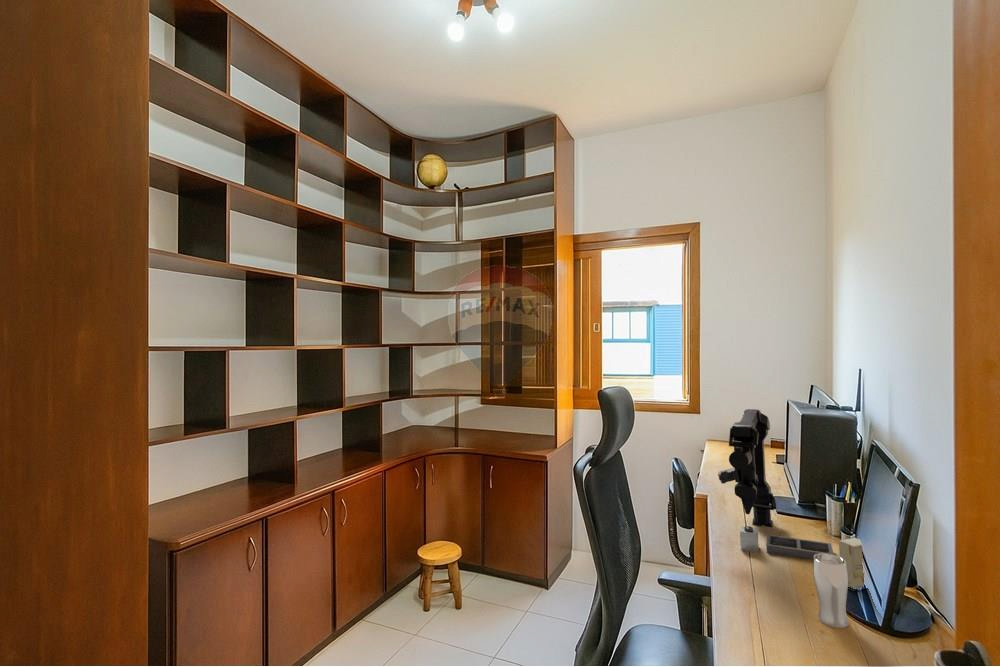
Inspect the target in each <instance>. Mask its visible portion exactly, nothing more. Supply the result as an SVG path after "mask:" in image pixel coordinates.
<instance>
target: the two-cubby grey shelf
mask: <svg viewBox="0 0 1000 667" xmlns="http://www.w3.org/2000/svg"><path fill="white" fill-rule="evenodd" d="M765 543H766V554H772V555H779V556H785V557H791V558H797V559H802V560H810V561H814V555H815V554H820V553H824V554H831V555H834V550H833V546H832V543H830V542H822V541H816V540H809V539H808V540H807V539H801V538H796V537H789V536H781V535H774V534H767V533H766V542H765Z"/></svg>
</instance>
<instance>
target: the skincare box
mask: <svg viewBox="0 0 1000 667" xmlns="http://www.w3.org/2000/svg"><path fill="white" fill-rule="evenodd" d="M860 540H861V539H860V538H857V537H852V538H846V539H840V540H838V549H839V550H838V551H839V552H838V553H839V556H838V557H841V558H842V559H844V560H845V561H846V568H847V574H848V587H851V588H853V589H859V588H861V587H864V573H863V565H862V562H863V560H862V559H863V554H862V543H861V541H860Z"/></svg>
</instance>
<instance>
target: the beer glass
mask: <svg viewBox="0 0 1000 667" xmlns="http://www.w3.org/2000/svg"><path fill="white" fill-rule="evenodd" d="M824 553H825V552H824ZM824 553H820V554H815V555H814V560H813V567H812V568H813V569H812V570H813V572H812V573H813V581H814V585H815V588H816V589H815V590H816V593H817V597H818V604H819V609H818V615H817V616H818V617H817V618H818V620H819V621H820V622H821V623H822V624H823V625H826V626H828V627H831V628H834V629H835V628H836V629H845V628H848V627H849V624H850V623H849V620H848V616H847V610H846V605H847V597H848V589H849V588H848V574H847V568H846V561H845V560H844V559H842V558H841V557H840V556H837V555H831V554H824Z"/></svg>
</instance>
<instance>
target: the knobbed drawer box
mask: <svg viewBox="0 0 1000 667" xmlns="http://www.w3.org/2000/svg"><path fill="white" fill-rule="evenodd" d="M758 530H759V529H758V528H755V527H752V526H748V525H745V526H740V529H739V540H740V550H741V551H746V552H752V553H759V549H760V548H759V546H760V545H759V533H758Z"/></svg>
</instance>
